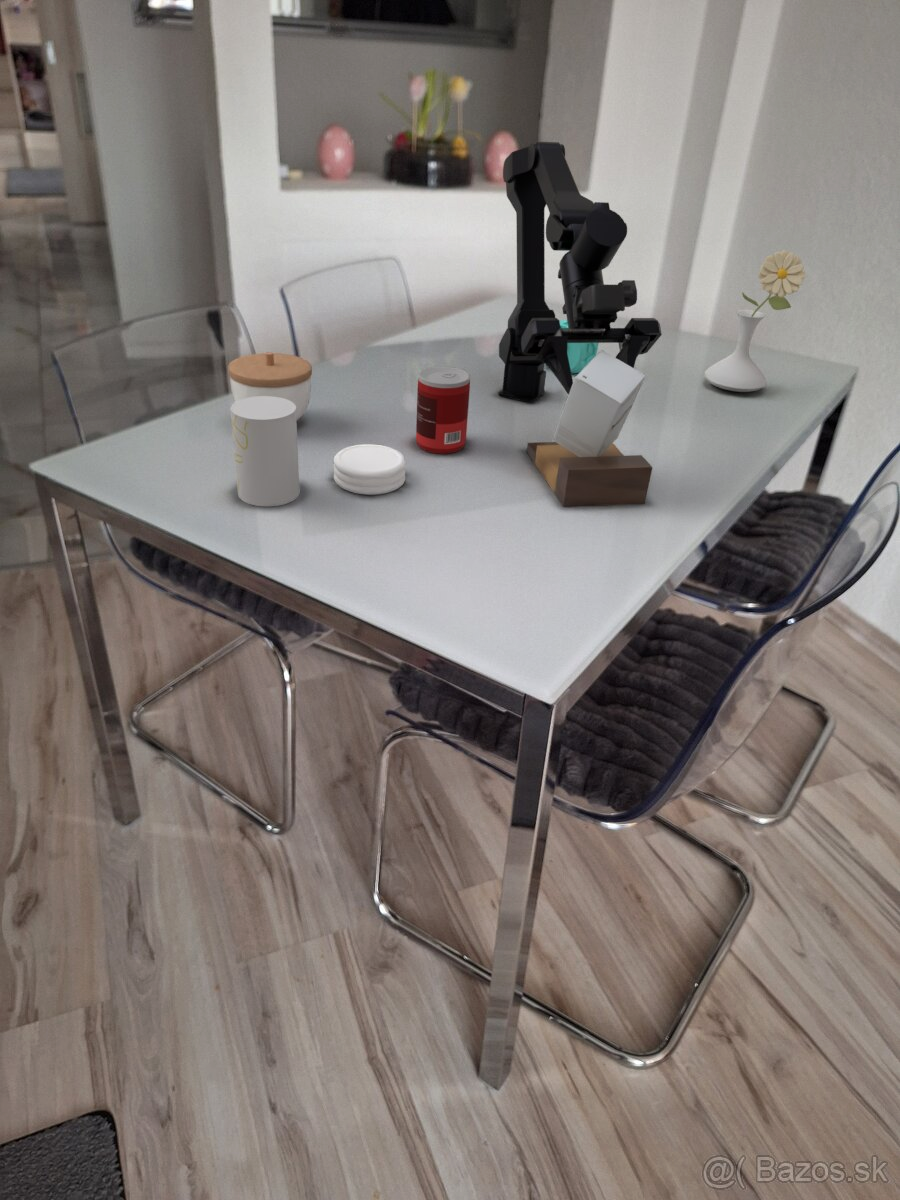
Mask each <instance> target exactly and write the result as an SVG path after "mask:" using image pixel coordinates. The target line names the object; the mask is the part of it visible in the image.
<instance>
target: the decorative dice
mask: <svg viewBox="0 0 900 1200" xmlns="http://www.w3.org/2000/svg"><path fill="white" fill-rule="evenodd" d="M559 321H560V326H561V328H568V322H567V319H562V320H559ZM598 350H599V343H567V354H568V359H569V364H570V369H571V374H579V373H580V372H581V371H582V370H583V369H584V367H585V366H586V365H587V364H588V363H589V362H590V361H591V360H592V359H593V358H594V357H595V356H596V355H597V354H598Z"/></svg>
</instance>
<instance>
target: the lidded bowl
mask: <svg viewBox="0 0 900 1200" xmlns="http://www.w3.org/2000/svg"><path fill="white" fill-rule="evenodd" d="M227 372H228V377H229V384H230V391H231V395H232V398H233V403H235V402H236V401H238V400H241V399H244V398H249V397H256V396H273V397H279V398H284V399H287V400H289V401H291V402H293V403H294V404H295V406H296V422H297V421H298V420H299V419H301V418H302V416H303V415H304V414H305V412H306V411H307V409H308V407H309V404H310V401H311V395H312V375H313V366H312V364H311V363H310V362H309V361H308V360H307V359H305V358H303V357H300V356H297V355H293V354H288V353H280V352H278V353H277V352H273V351H266V352H263V353H252V354H247V355H243V356H239V357H236V358H235V359H233V360H231V361H230V362H229V364H228V365H227Z"/></svg>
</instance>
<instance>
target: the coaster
mask: <svg viewBox="0 0 900 1200" xmlns="http://www.w3.org/2000/svg"><path fill="white" fill-rule="evenodd" d="M406 464H407V460H406V458H405V456H404V454H403V453H401V452H400V451H399V450H397V449H396V448H393V447H390V446H387V445H380V444H374V443H373V444H372V443H364V444H363V443H362V444H355V445H350V446H347V447H345V448H342V449H340V450H339V451H338V452H337V453H336V454H335V456H334V457H333V472H334V473H333V480H334V481H335V484H336V485H337V486H338V487H340V488H341V489H343V490H345V491H347V492H350V493H354V494H358V495H365V496H367V495H368V496H373V495H374V496H375V495H384V494H388V493H391V492H393V491H396V490H398V489H399V488H400V487H402V486H403V485H404V484H405V481H406V470H407V469H406Z"/></svg>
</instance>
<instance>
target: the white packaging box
mask: <svg viewBox="0 0 900 1200" xmlns="http://www.w3.org/2000/svg"><path fill="white" fill-rule="evenodd" d="M645 379H646V375H645V374H644V373H643V372H641V371H639V370H638V369H635V367H634V368H632V367H630V366H629V365H627V364H625V363H624V362H622V361H620V360H618V359H617V358H616V356H613V355H611V354H610V353H608V352H606V351H605V350H604V349H601V350H599V351H598V352H597V354H596V356H595V357H594V358H593V359H592V360H591V361H590V362H589V363H588V364H587V365H586V366H585V367H584V369H583V370H582V371H581V372H580V373H577V374H576V376H575V377H574V379H573V384H572V387H571V390H570V392H569V395H568V394H567V395H568V396H567V399H566V401H565V404H564V406H563V408H562V412H561V414H560V417H559V421H558V423H557V426H556V429H555V431H554V434H553V437H552V442H556V443H557V444H559V445H561V446H562V447H564V448H565V449H567V450H568V451H570V452H572V453H573V454H575V455H576V456H578V457H600V456H602V454H603V453H604V452H605V451H606V450H607V449H608V448H609V446H610V445H611V444H612V443H613V444H614V442H615V441H616V440H617V439H618V438H619V436H620V434H621V431H622V429H623V427H624V425H625V423H626V420H627V419H628V417H629V414H630V412H631V410H632V407H633V406H634V403H635V401H636V399H637V396H638V394H639V393H640V392H639V391H640V390H641V388H642V385H643V383H644V381H645Z"/></svg>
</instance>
